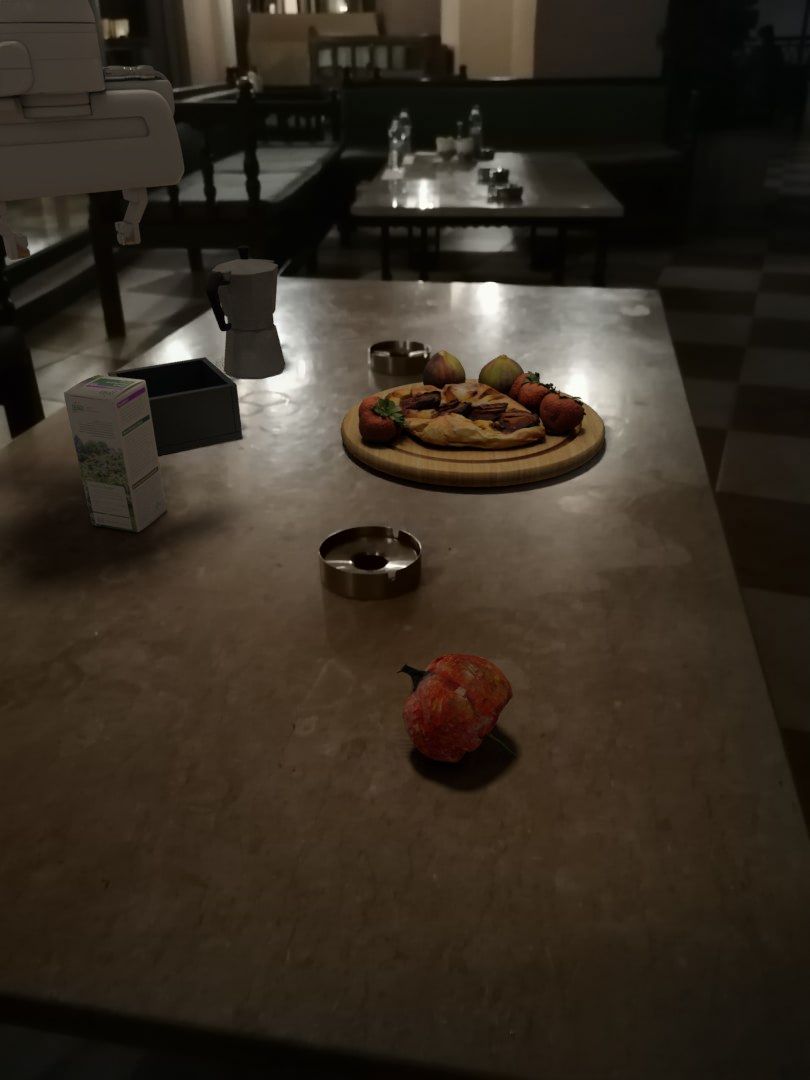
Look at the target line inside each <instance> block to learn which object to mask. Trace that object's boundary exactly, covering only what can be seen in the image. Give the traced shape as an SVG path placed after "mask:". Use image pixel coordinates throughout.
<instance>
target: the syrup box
mask: <svg viewBox="0 0 810 1080" xmlns="http://www.w3.org/2000/svg"><path fill="white" fill-rule="evenodd" d="M63 396H64V402H65V406H66V411H67V412H66V413H67V416H68V420H69V425H70V429H71V434H72V438H73V443H74V448H75V453H76V456H77V462H78V467H79V471H80V476H81V480H82V485H83V490H84V495H85V499H86V503H87V507H88V512H89V513H88V514H89V517H90V522H91V526H95V527H102V528H106V529H107V528H108V529H112V530H120V531H125V532H132V533H140V532H141V531H142V530H144V529H146V528H147V527H148V526H150V525H151V524H152V523H154V522H155V521H156V520H157V519H158V518H160V517H161V516H162V515H163V514H164V513H165V512H167V511H168V505H167V500H166V499H167V498H166V495H165V489H164V485H163V478H162V472H161V466H160V461H159V456H158V454H157V448H156V442H155V435H154V429H153V423H152V416H151V410H150V404H149V398H148V392H147V386H146V382H145V380H139V379H130V378H121V377H111V376H108V375H100V374H97V375H94V376H91V377H89V378H86V379H84V380H81V381H80V382H79V383H77V384H75V385H73V386H72V387H70V388H69V389H68V390H66V391H64V392H63Z"/></svg>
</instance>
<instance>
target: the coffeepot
mask: <svg viewBox="0 0 810 1080" xmlns="http://www.w3.org/2000/svg"><path fill="white" fill-rule="evenodd" d="M237 251H238V255H239V258H237V259H233V260H229V261H226V262H223V263H219V264H217V265H216V266H215V267H214V268H212V269H211V274H210V275H209V277H208V280H207V283H206V285H205V294H206V297H207V300H208V301H209V305H210V306H211V309H212V310H211V311H212V313H213V315H214V318H215V321H216V324H217V326H218V329H219V330H220V332H225V341H224V342H225V343H224V345H225V346H224V362H223V373H226V374H227V375H228V374H229V375H228V376H229V377H232V376H233V377H232V378H235V377H236V379H242V380H258V379H265V378H271V377H274V376H276V375H279V374H280V373H282V372H283V371H284V370H285V366H286V359H285V356H284V353H283V348H282V344H281V340H280V336H279V333H278V329H277V328H278V327H277V325H276V324H274V323H275V320H274V314H275V312H276V308H277V307H276V306H277V294H278V293H277V292H278V291H277V290H278V274H279V264H277V263H275V260H272V259H271V260H270V259H260V258H258V259H257V258H250V257H249V253H250V246H248V245H245V244H241V245H239V246H238V247H237ZM226 320H227V322H226Z"/></svg>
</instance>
